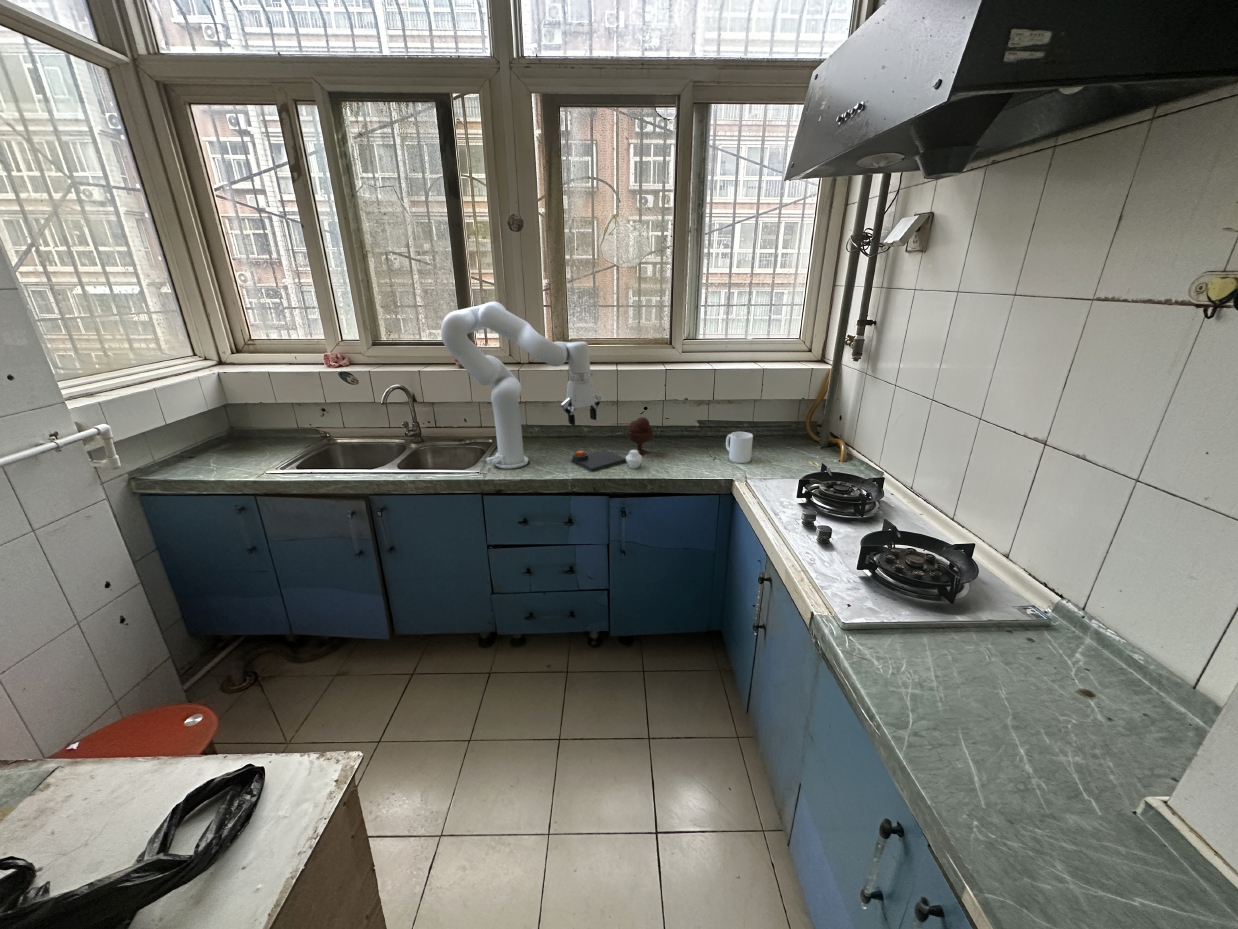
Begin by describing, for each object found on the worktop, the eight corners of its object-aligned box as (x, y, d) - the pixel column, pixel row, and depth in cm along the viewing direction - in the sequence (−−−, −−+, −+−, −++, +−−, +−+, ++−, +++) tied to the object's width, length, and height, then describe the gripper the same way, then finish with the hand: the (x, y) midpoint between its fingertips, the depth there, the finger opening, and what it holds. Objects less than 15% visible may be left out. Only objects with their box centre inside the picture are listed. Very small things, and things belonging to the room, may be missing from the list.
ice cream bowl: (653, 448, 207) (653, 413, 201) (652, 457, 196) (652, 421, 191) (627, 447, 208) (627, 413, 202) (625, 457, 197) (625, 420, 192)
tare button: (579, 457, 190) (579, 453, 190) (575, 455, 192) (575, 451, 192) (585, 455, 192) (585, 451, 191) (581, 453, 194) (581, 449, 193)
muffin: (630, 471, 183) (630, 453, 181) (622, 466, 188) (622, 448, 186) (645, 468, 186) (645, 450, 183) (637, 463, 191) (637, 445, 188)
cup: (739, 465, 188) (742, 439, 184) (717, 456, 197) (719, 431, 194) (755, 460, 192) (757, 435, 189) (732, 452, 202) (734, 428, 198)
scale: (591, 472, 183) (591, 464, 182) (570, 461, 193) (570, 454, 192) (626, 462, 192) (626, 454, 191) (604, 452, 203) (604, 445, 202)
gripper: (593, 371, 189) (595, 415, 195) (554, 378, 179) (558, 424, 185) (605, 374, 183) (607, 419, 190) (565, 381, 174) (569, 428, 180)
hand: (582, 421), depth 187 cm, fingers open, 9 cm apart
